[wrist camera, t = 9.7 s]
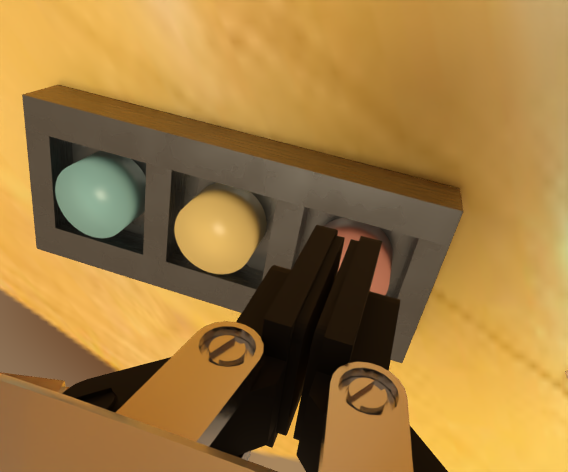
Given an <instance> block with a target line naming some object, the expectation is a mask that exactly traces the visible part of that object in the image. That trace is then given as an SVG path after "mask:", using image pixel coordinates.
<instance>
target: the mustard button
mask: <svg viewBox="0 0 568 472" xmlns="http://www.w3.org/2000/svg"><path fill="white" fill-rule="evenodd" d="M266 225H267V223H266V215H265V212H264V209H263V207H262V205H261V204H260V202H259V201H258V199H257V198H256V197H255V196H254V195H253V194H252V193H251V192H249V191H246V190H242V189H238V188H235V187H231V186H227V185H224V184H220V183H215V184H212V185H209V186H208V187H206V188H205V189H203V190H202V191H201V192H200V193H199V194H198V195H197V196H196V197H194V198H193V199H192V200H191V201H190V202H189V203H188V204H187V205H186V206H185V207H184V208H183V209H182V210H181V211H180V212H179V214H178V216H177V218H176V221H175V227H174V232H175V238H176V241H177V244H178V246H179V248H180V250H181V252H182V253H183V255H184V256H185V257H186V258H187V259H188V260H189V261H190V262H191V263H192V264H194V265H195V266H197V267H198V268H200V269H202V270H204V271H207V272H210V273H214V274H229V273H233V272H235V271H237V270H239V269H241V268H242V267H243V266H244V265H245V264H246V263H247V262H248V260H249V259H250V257H251V256H252V254H253V253H254V251H255V249H256V248H257V246H258V245H259V243H260V242H261V240H262V239H263V237H264V235H265V231H266Z"/></svg>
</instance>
